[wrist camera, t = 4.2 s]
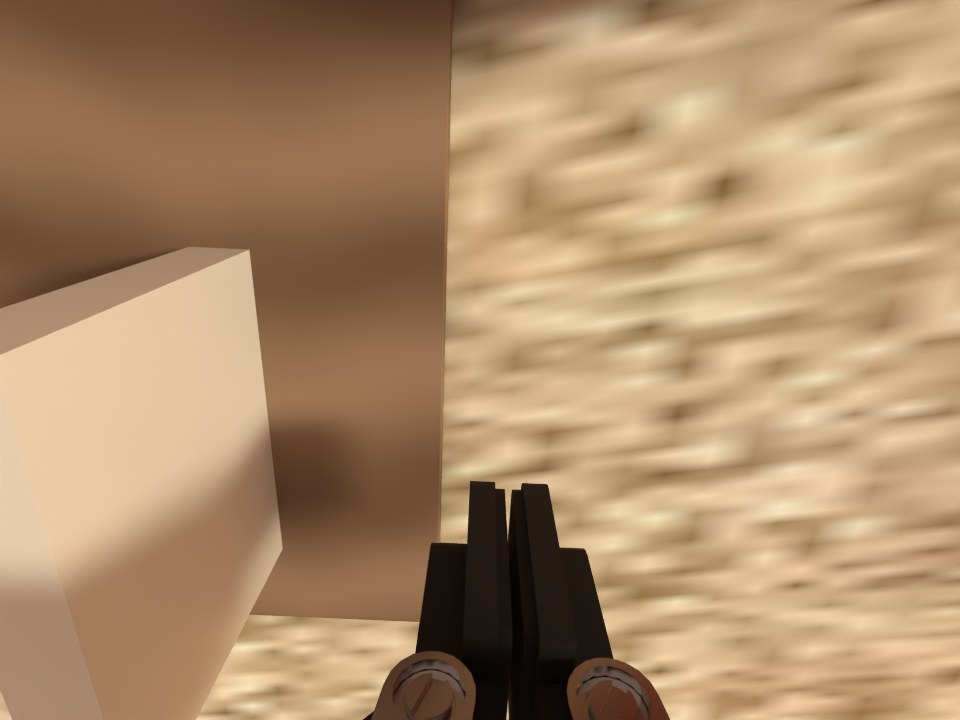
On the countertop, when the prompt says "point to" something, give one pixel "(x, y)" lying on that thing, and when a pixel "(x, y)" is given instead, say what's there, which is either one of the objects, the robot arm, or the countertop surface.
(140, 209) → the board
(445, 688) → the robot arm
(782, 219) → the countertop surface
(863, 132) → the countertop surface
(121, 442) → the tile
